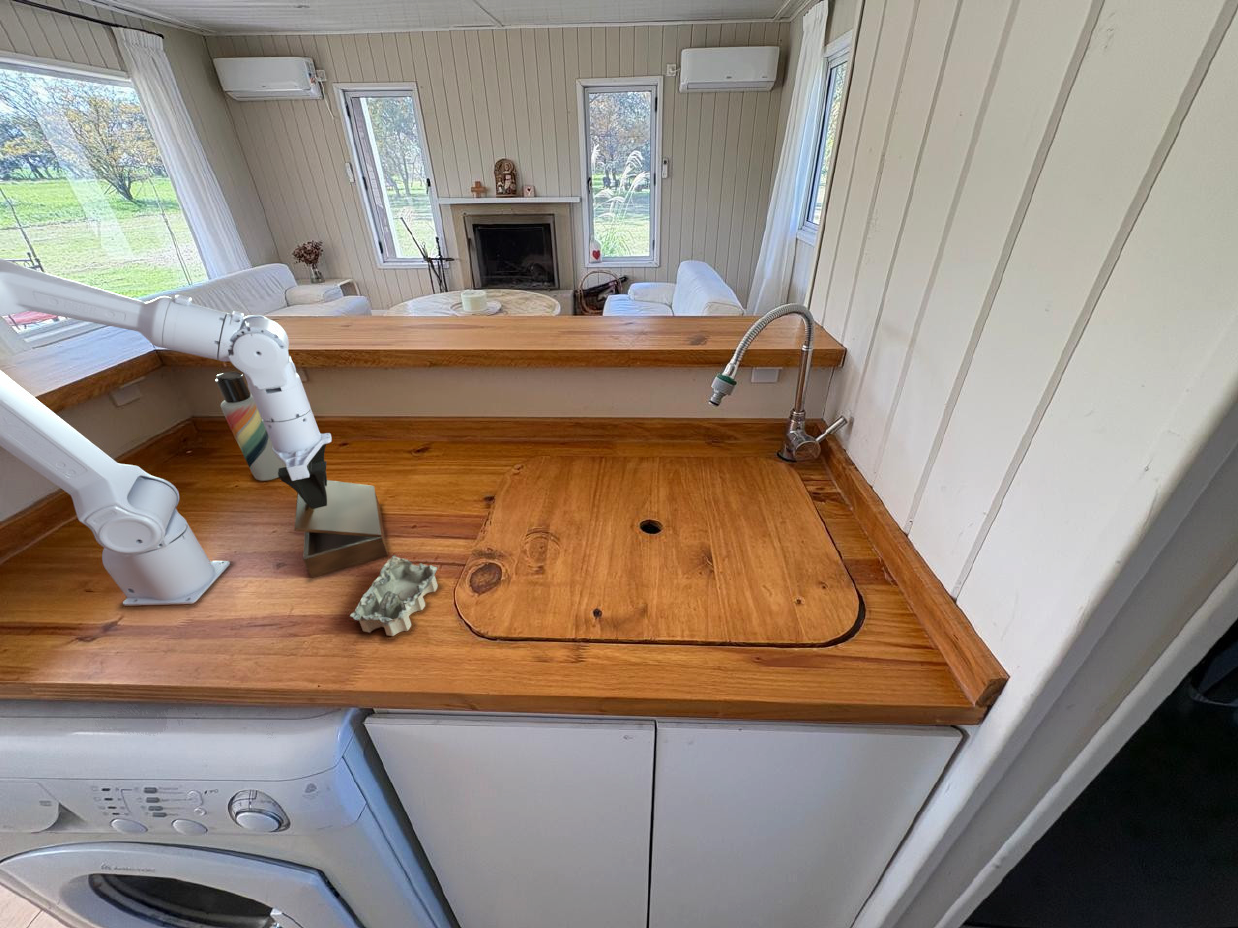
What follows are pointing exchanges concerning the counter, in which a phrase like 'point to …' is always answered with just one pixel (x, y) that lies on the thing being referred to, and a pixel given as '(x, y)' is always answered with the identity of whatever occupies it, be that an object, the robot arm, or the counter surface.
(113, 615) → the counter surface
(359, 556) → the compartment
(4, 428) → the robot arm
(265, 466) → the lotion bottle
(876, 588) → the counter surface
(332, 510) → the lid
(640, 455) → the counter surface
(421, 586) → the egg carton
